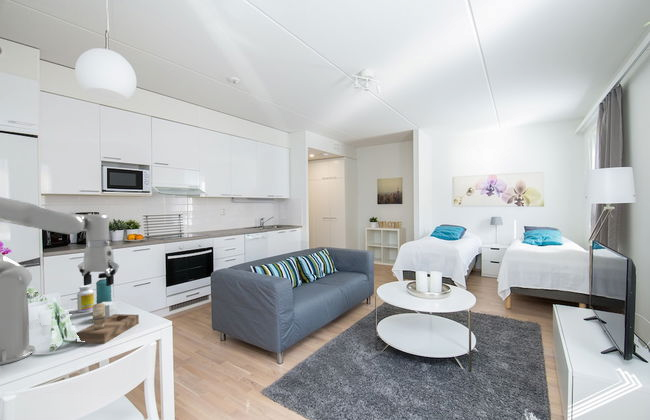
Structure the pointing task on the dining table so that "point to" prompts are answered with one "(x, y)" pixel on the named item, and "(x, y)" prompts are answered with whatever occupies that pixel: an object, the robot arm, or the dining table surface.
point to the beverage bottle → (103, 290)
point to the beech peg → (99, 316)
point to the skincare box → (110, 308)
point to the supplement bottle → (85, 299)
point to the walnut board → (108, 328)
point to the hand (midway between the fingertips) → (98, 284)
